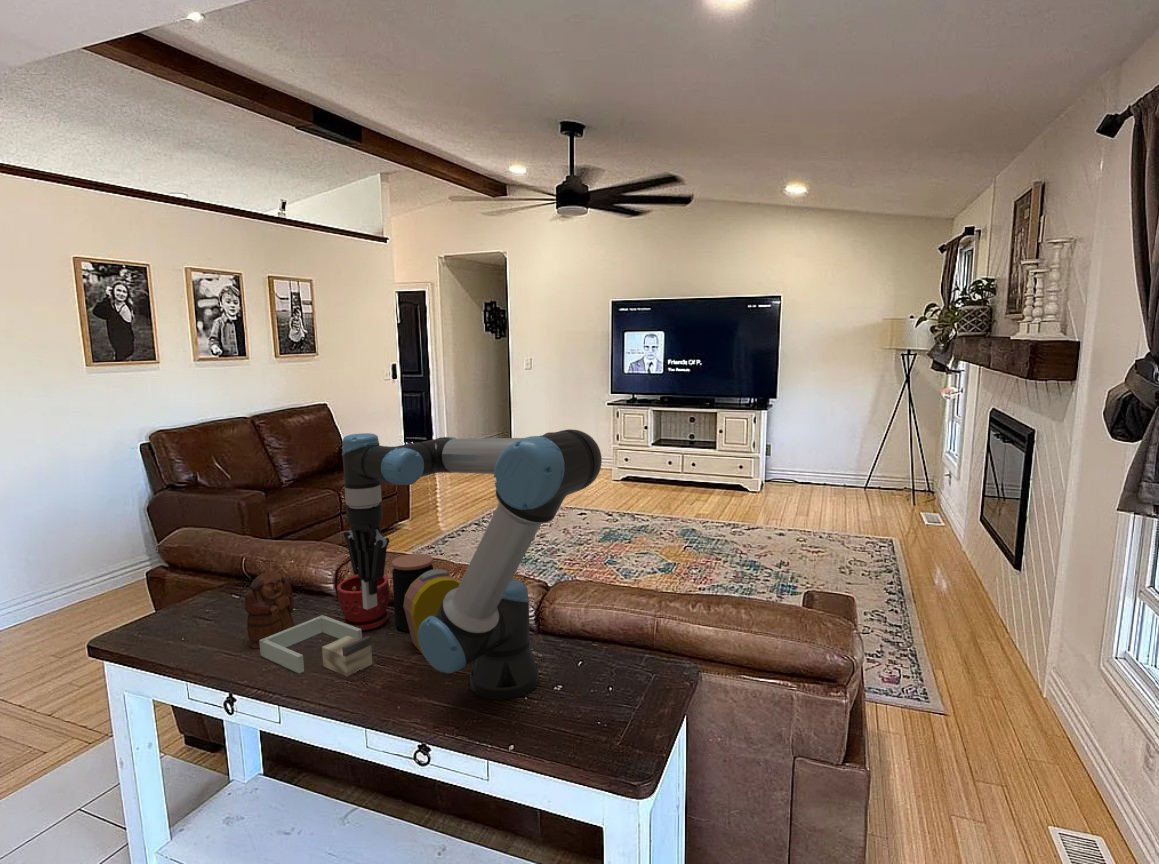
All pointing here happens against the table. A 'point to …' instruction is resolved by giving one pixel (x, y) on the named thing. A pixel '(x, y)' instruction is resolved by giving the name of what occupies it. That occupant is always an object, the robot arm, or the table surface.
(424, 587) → the alarm clock
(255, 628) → the wooden figurine
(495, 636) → the robot arm
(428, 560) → the coffee jar
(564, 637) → the table surface
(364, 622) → the plant pot
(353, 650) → the beige block
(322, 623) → the dock
